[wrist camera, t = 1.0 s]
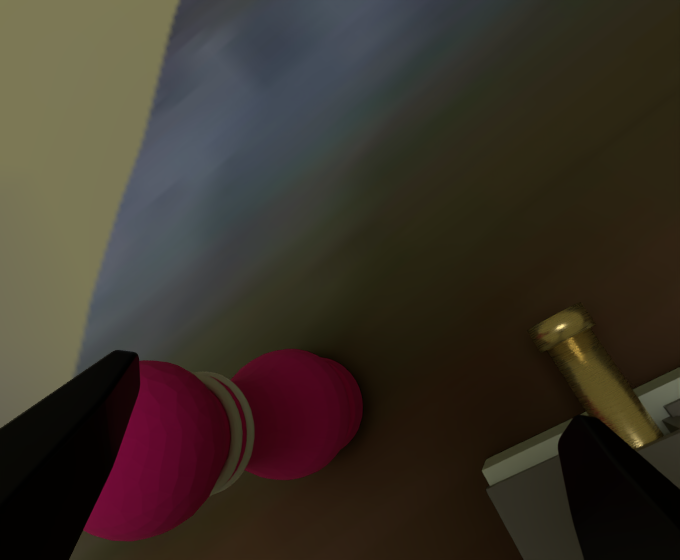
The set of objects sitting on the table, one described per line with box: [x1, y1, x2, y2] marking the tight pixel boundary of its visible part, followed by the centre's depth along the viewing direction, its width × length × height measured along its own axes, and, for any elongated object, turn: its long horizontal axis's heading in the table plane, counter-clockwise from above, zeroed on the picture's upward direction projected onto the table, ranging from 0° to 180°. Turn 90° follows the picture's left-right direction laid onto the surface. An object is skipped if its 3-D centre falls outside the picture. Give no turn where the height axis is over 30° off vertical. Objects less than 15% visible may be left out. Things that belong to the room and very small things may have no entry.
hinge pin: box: [527, 302, 664, 449], centre depth 21 cm, size 14×3×3 cm, turn 29°
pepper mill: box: [83, 349, 363, 541], centre depth 22 cm, size 7×7×20 cm
